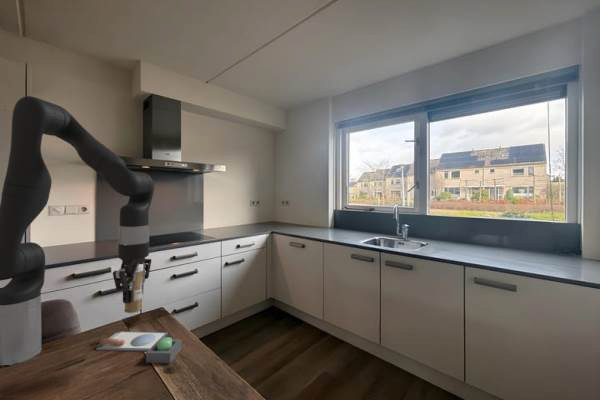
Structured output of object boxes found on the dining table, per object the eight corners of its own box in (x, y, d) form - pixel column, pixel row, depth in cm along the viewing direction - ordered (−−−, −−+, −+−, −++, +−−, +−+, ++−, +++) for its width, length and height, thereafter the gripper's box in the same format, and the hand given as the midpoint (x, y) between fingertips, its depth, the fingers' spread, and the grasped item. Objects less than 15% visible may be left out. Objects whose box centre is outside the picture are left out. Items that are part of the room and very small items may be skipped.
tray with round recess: (96, 350, 79) (96, 347, 79) (119, 332, 89) (119, 329, 89) (151, 352, 79) (151, 348, 79) (168, 334, 89) (168, 330, 89)
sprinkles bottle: (142, 311, 75) (143, 265, 74) (123, 315, 72) (124, 267, 72) (142, 305, 79) (142, 261, 78) (124, 308, 76) (124, 263, 76)
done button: (154, 354, 76) (154, 344, 76) (161, 346, 80) (161, 337, 80) (167, 355, 76) (167, 345, 76) (174, 346, 80) (174, 337, 80)
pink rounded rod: (100, 344, 81) (101, 339, 81) (104, 341, 82) (105, 336, 82) (122, 346, 81) (122, 341, 80) (125, 343, 82) (126, 338, 82)
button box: (146, 362, 74) (146, 352, 74) (159, 348, 81) (159, 338, 81) (170, 363, 74) (170, 353, 74) (181, 348, 81) (181, 339, 81)
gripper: (137, 236, 82) (136, 289, 82) (102, 245, 68) (101, 309, 68) (160, 237, 82) (159, 290, 82) (130, 246, 68) (129, 310, 68)
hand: (133, 298), depth 75 cm, fingers closed on sprinkles bottle, 4 cm apart
